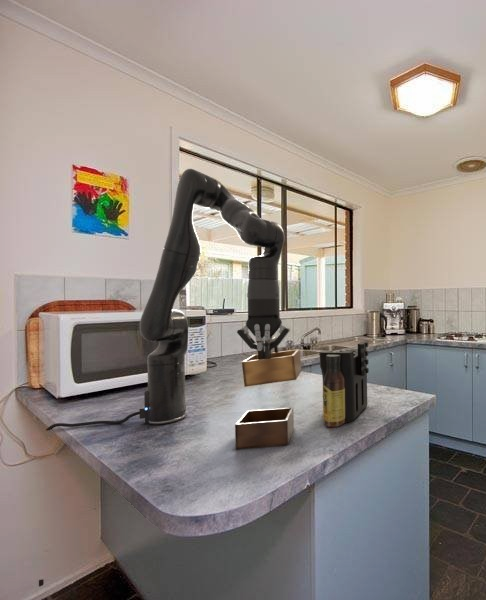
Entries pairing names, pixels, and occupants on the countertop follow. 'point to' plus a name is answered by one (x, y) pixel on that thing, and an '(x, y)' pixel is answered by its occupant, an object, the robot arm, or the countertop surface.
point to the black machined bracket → (351, 378)
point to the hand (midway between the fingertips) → (264, 364)
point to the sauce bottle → (333, 393)
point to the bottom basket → (264, 428)
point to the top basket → (272, 366)
